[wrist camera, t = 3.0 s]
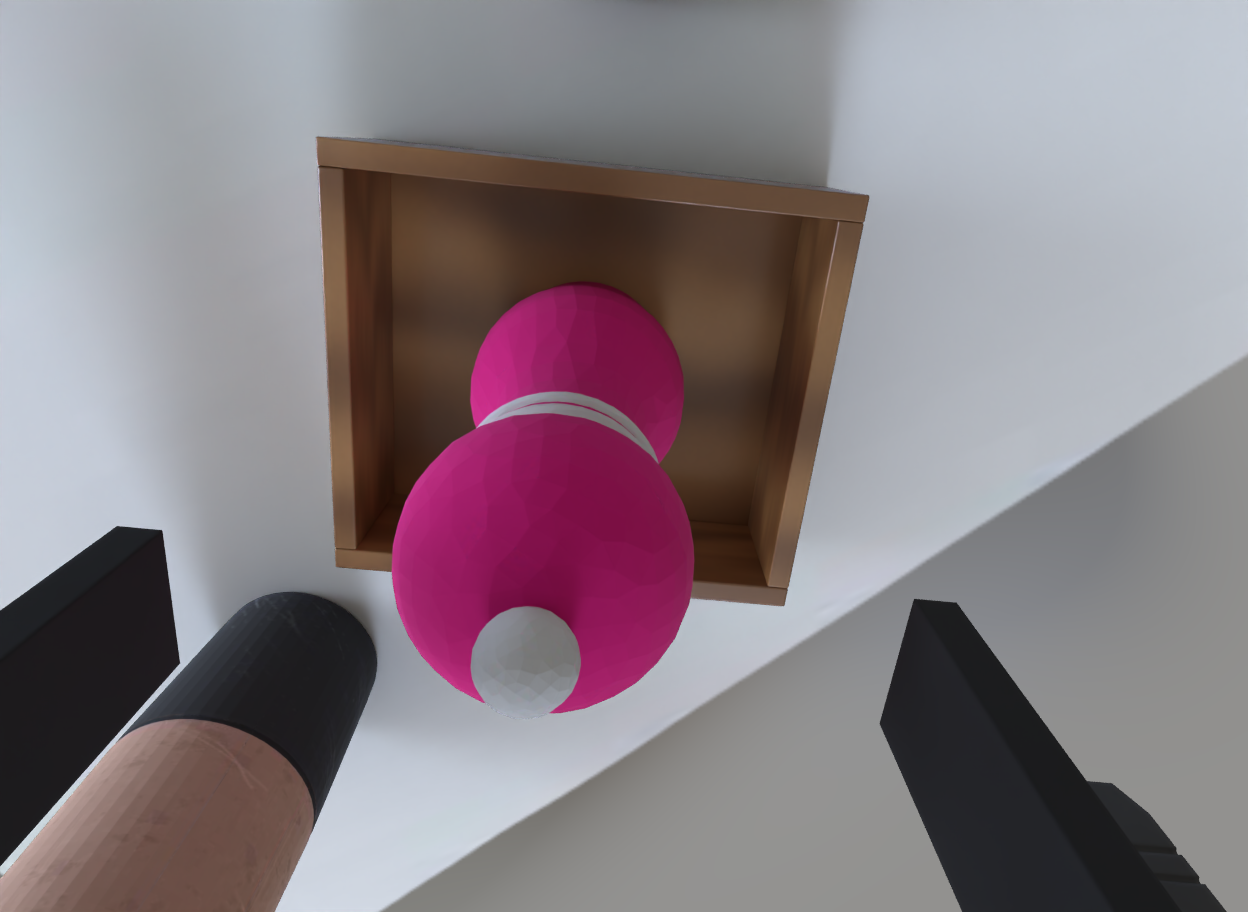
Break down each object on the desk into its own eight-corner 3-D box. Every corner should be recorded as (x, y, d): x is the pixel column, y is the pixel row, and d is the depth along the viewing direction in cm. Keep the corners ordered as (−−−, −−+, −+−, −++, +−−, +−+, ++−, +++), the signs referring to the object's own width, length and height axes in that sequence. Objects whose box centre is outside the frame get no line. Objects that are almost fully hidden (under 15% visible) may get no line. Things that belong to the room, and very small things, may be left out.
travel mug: (417, 676, 36) (196, 1232, 18) (295, 745, 38) (-26, 1321, 19) (309, 556, 34) (-78, 1051, 15) (183, 635, 35) (-306, 1171, 17)
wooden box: (370, 138, 28) (315, 136, 23) (827, 187, 28) (870, 195, 23) (378, 505, 33) (334, 567, 28) (761, 540, 34) (784, 607, 29)
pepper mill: (487, 266, 29) (238, 477, 10) (679, 267, 29) (775, 480, 10) (498, 446, 32) (315, 869, 13) (674, 446, 32) (742, 872, 13)
